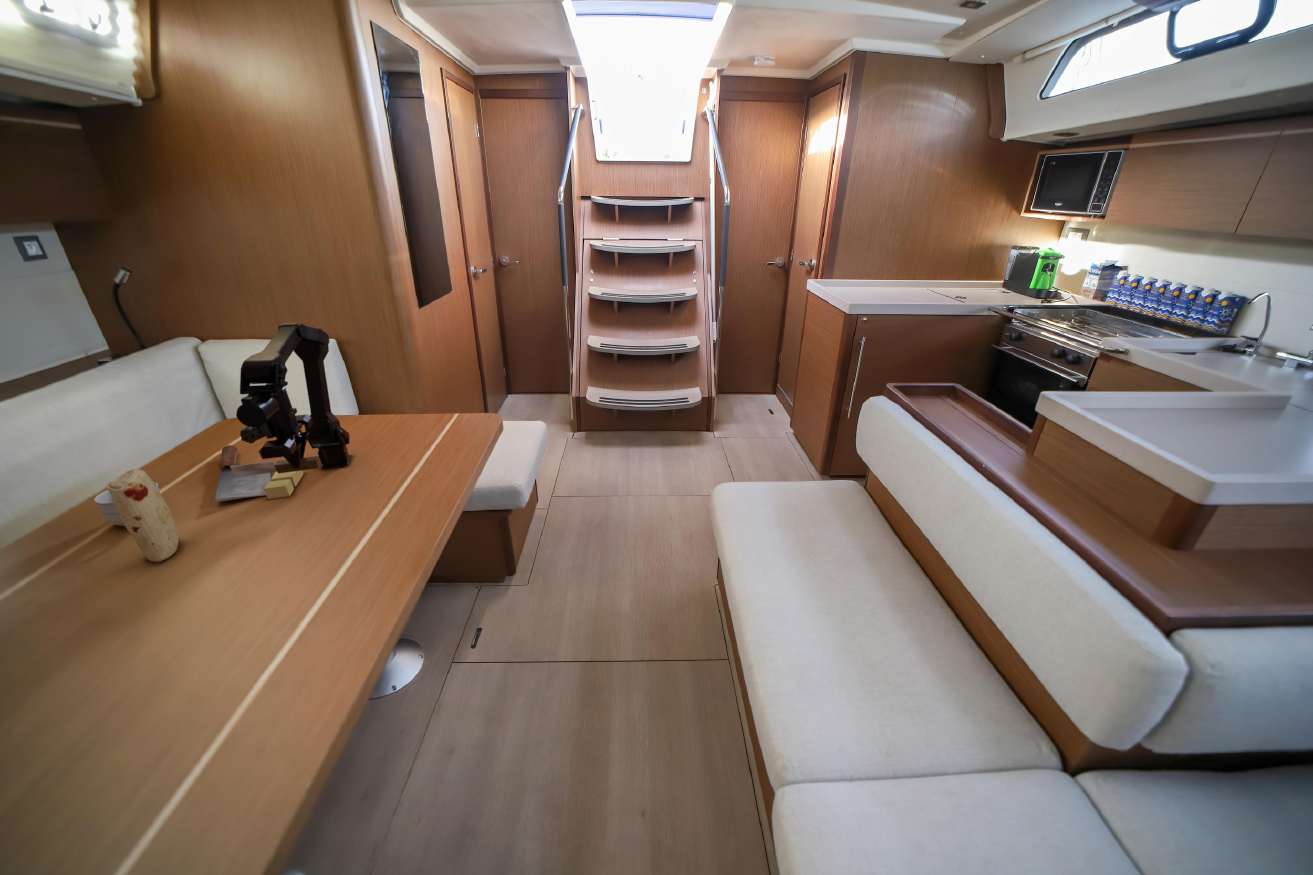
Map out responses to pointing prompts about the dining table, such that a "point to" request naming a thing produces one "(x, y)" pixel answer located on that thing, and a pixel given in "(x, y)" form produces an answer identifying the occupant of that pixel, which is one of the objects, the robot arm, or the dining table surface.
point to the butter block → (288, 476)
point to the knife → (275, 467)
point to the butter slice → (278, 488)
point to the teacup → (110, 507)
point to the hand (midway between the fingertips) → (298, 465)
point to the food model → (145, 514)
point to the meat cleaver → (238, 479)
